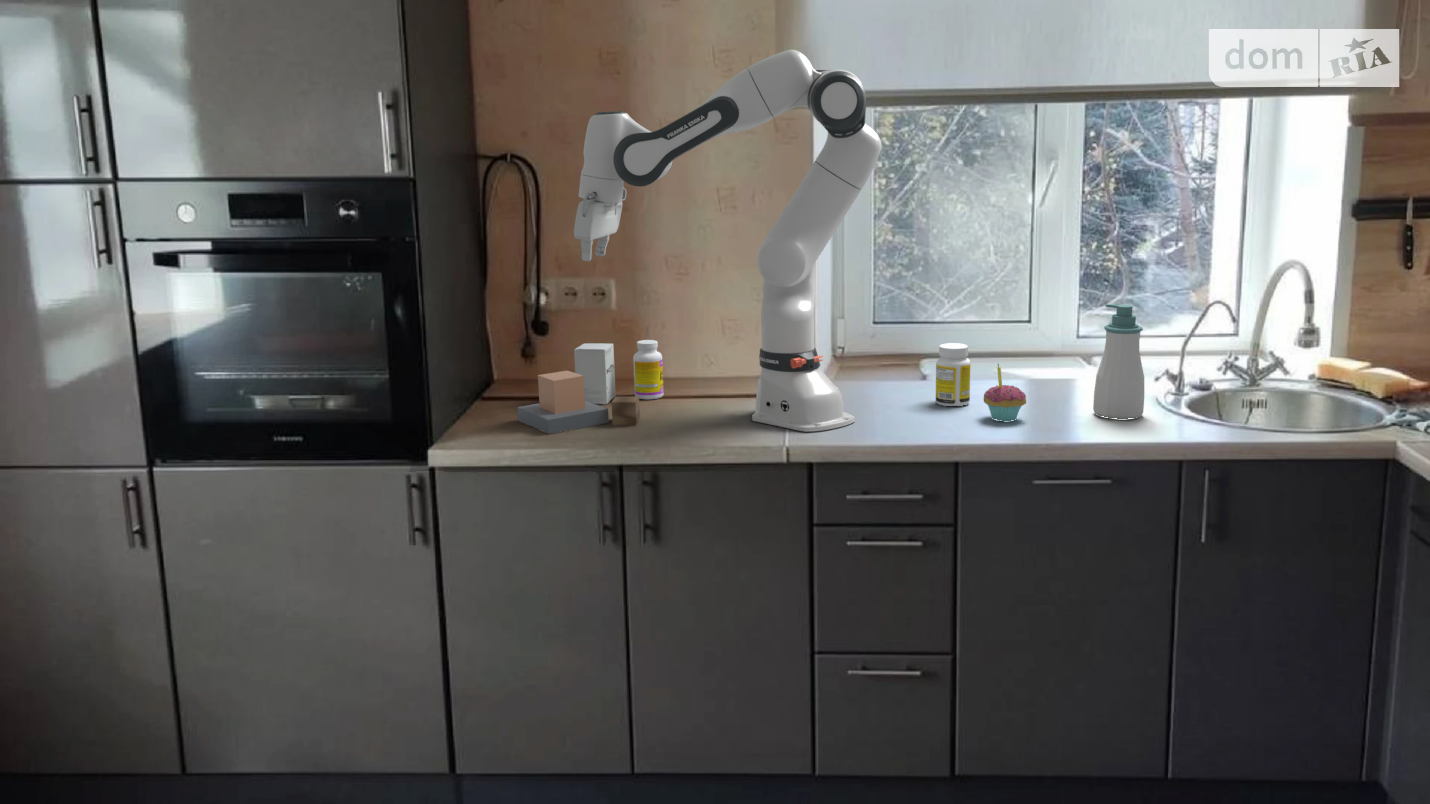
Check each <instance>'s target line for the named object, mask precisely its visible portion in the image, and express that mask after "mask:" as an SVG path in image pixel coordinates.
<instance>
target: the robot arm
mask: <svg viewBox="0 0 1430 804" xmlns="http://www.w3.org/2000/svg"><path fill="white" fill-rule="evenodd" d="M799 107H802V108H805V109H808V110H809V111H810V113H811V114H812V116H813V117H814V119H815V120H816V121H817V122H818V123H819V124H821V126H823V128H824V129H825V130H826V132H827V137H826V140H825V143H824V145H823V147H822V149H821V151H820V152H819V154H818V155H817V156H816V159H815V160H814V162H813V163H812V164H811V166H810V168H809V170H808V172H807V173H806V174H805V176H804V178H803V180H802V181H801V183H800V184H799V186H798V187H797V188H796V191H795V192H794V194H793V196H792V197H791V198H790V200H789V201H788V203H787V205H786V206H785V207H784V209H783V210H782V212H781V213H780V216H779V217H778V219H776V222H775V223H774V225H773V226H772V228H771V230H770V231H769V232H768V234H767V236H766V237H765V239H764V240H763V242H761V245H760V247H759V249H758V252H757V256H756V263H757V268H758V271H759V273H760V275H761V276H762V278H763V284H762V299H761V301H762V302H761V309H760V310H761V311H760V312H761V313H760V315H761V317H760V319H761V323H760V324H761V327H760V328H761V330H760V331H761V333H760V334H761V348H760V349H759V354H758V359H759V366H760V367H761V368H760V369H761V370H760V374H759V377H758V380H757V383H756V384H757V385H756V398H755V407H754V408H755V410H754V413H753V414H752V415H751V420H752V421H753V422H758V423H762V424H767V425H770V426H771V425H772V426H777V427H780V428H784V429H785V428H786V429H791V430H794V431H800V432H806V433H807V432H820V431H821V432H822V431H827V430H832V429H837V428H840V427H845V426H848V425H850V424H853V423H854V422H855V421H856V419H855V416H854V415H853V414H850V413H848V412H846V411H844V401H843V395H842V393H841V391H840V390H839V388H838V387H837V386H836V385H835V384H834V383H833V382H832V380H830V378H829V377H828V375H826V374H825V372H824V371H823V370H822V369H821V363H820V362H823V361H824V359H821V358H823V357H824V355H822V354H821V355H819V354H818V351H817V349H816V347H815V300H816V299H815V298H816V278H817V276H816V275H817V260H818V259H819V257H820V255H821V254H822V252H823V251H824V249H825V248H826V246H827V245H828V244H829V241H830V240H831V239H832V236H833V235H834V234H835V232H836V230H837V229H838V228H839V226H840V224H841V223H842V221H843V220H844V218H845V216H846V215H847V213H848V212H849V210H850V208H852V205H853V204H854V202H855V200H856V199H857V197H858V196H859V194H860V193H861V191H862V189H863V188H864V187H865V185H866V183H867V182H868V179H869V177H870V176H871V174H872V171H873V170H874V168H875V165H876V163H877V161H878V158H879V156H880V153H881V150H882V141H881V138H880V136H879V134H878V133H877V132H876V131H875V130H874V129H873V128H872V127H871V126H870V125H867V123H866V111H867V94H866V90H865V87H864V85H863V82H862V81H861V80H860V79H859V78H858V76H856V75H855V74H854V73H853V72H850V71H848V70H847V69H846V70H845V69H840V68H839V69H828V70H827V69H826V70H825V69H815V67H814V66H813V65H812V63H811V61H810V60H809V58H808V57H807V56H806V55H805V54H804V53H802V52H800V51H799V50H796V49H788V50H784V51H781V52H778V53H776V54H772V55H771V56H770V55H769V56H768V57H766V58H764V59H761V60H759V61H757V62H756V63H754V64H752V65H750V66H748V67H746V68H745V69H743V70H742V71H740V72H738V73H737V74H736V75H734V76H733V77H731V78H730V79H728V80H727V81H726V82H724V83H723V84H722V85H721V86H720V87H719V88H718V89H717V90H716V91H715V92H714V93H713V94H712V95H710V97H709V98H707V99H706V100H705V101H704V102H703V103H701V104H700V105H699V106H698V107H697V108H695V109H693V110H692V111H690V112H688V113H687V114H684V115H683V116H681V117H679V118H677V119H676V120H674V121H672V122H670V123H668V124H666V125H665V126H663V127H661V128H659V129H657V130H654V131H651V130H649V129H647V128H645V127H644V126H642V125H641V124H639V123H638V122H636V121H635V120H634V119H633V118H632V117H631V116H630V115H629V114H628V113H627V112H625V111H621V110H619V111H618V110H617V111H616V110H613V111H602V112H601V111H599V112H596V113H595V114H593V115H592V116H590V118H589V121H588V124H587V127H586V130H585V131H586V132H585V138H584V144H583V151H582V152H583V159H584V161H583V167H582V169H581V172H580V173H581V174H580V180H579V188H578V189H579V190H578V197H579V198H580V199H583V200H582V201H580V202H579V203H578V206H577V209H576V215H575V220H574V227H573V236H574V237H573V238H574V239H576V240H580V247H581V248H580V249H581V260H582V261H584V262H591V260H592V259H593V253H595V256H597V257H604V256H605V255H606V249H607V246H608V244H609V241H610V236H611V235H613V234H616V233H617V231H618V229H619V227H620V221H621V215H622V211H623V210H622V209H623V201H626V199H627V189H626V188H625V187H624V184H625V183H626V184H627V185H630V186H633V187H647V186H649V185H651V184H653V183H655V182H656V181H658V180H659V179H662V178H663V177H665V176H666V175H667V174H668V173H669V172H670V171H671V168H672V167H673V163H674V160H675V159H677V158H678V157H680V156H683V155H684V154H686V153H688V152H690V151H691V150H693V149H695V148H696V147H699V146H700V145H702V144H704V143H706V142H708V141H710V140H712V139H714V138H717V137H720V136H724V135H731V134H735V133H741V132H746V131H748V130H749V131H750V130H751V129H754V128H756V127H759V126H762V125H764V124H766V123H768V122H769V121H771V120H773V119H775V118H777V117H779V116H780V115H782V114H784V113H786V112H788V111H789V110H792V109H794V108H799ZM624 182H625V183H624ZM597 239H598V240H597ZM594 240H597V245H596V247H595V252H593V251H592V250H593V248H592V247H593V245H594V244H593V243H594Z"/></svg>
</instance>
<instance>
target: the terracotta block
mask: <svg viewBox="0 0 1430 804" xmlns="http://www.w3.org/2000/svg"><path fill="white" fill-rule="evenodd" d="M537 383H538V398H539V400H538V401H539V403H540V408H542V409H545V410H547V411H550V412H552V413H555V414H558V413H563V412H568V411H574V410H579V409H585V394H584V376H583V375H580V374H577V373H575V372H573V371H569V370H563V371H557V372H549V373H544V374H543V373H542V374H538V375H537Z"/></svg>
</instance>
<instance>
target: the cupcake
mask: <svg viewBox="0 0 1430 804" xmlns="http://www.w3.org/2000/svg"><path fill="white" fill-rule="evenodd" d="M996 368H997V369H996V370H997V381H998V385H996V386H992V387H990V388H988V389H987V390H985V391H984V394H983V403H984V404H986V405H987V406H988V410H989V413H990V415H991V416H990V417H991V419H992V418H993V419H997V420H1002V421H1011V420H1015V419H1016V420H1017V417H1018V415H1019V413H1020V410H1021V408H1022V406H1024V405H1026V404H1027V398H1026V397H1027V395H1026V393H1025V392H1024V391H1022V390H1021V389H1020V388H1018V387H1017V386H1014V385H1012V384H1011V385H1009V384H1007V385H1006V384H1004V385H1003V382H1002V381H1003V380H1002V369H1001V366H1000V364H999V363H997V367H996ZM993 419H992V420H993ZM1016 420H1015V421H1016Z"/></svg>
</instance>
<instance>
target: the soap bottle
mask: <svg viewBox="0 0 1430 804" xmlns="http://www.w3.org/2000/svg"><path fill="white" fill-rule="evenodd" d="M1105 307H1106V308H1115V309H1116V313H1114V314H1112V317H1111V319H1112V320H1111V322H1109V324H1106V325H1104V326H1103V329H1104V330H1105V343H1104V350H1103V353H1102V356H1101V360H1100V363H1099V365H1098V369H1097V372H1096V374H1095V375H1096V376H1095V377H1096V378H1095V385H1094V391H1093V407H1092V409H1093V413H1094V412H1095V413H1094V414H1095V415H1096V414H1097V415H1099V416H1104V417H1108V418H1117V419H1128V418H1136V417H1139V418H1140V417H1142V415H1143V414H1144V408H1145V407H1144V406H1145V373H1144V368H1143V363H1142V359H1141V353H1140V340H1141V339H1140V338H1141V337H1140V336H1141V332H1142V331H1143V330H1144V329H1143V327H1142V326H1141V325H1139V324H1137V323H1136V320H1137V319H1136V318H1137V316H1136V315H1135V314H1133V305H1130V304H1114V303H1106V304H1105ZM1097 415H1096V416H1097ZM1099 416H1098V417H1099Z"/></svg>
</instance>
